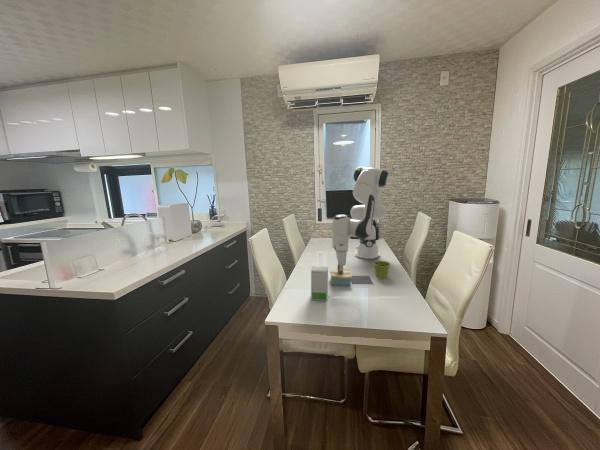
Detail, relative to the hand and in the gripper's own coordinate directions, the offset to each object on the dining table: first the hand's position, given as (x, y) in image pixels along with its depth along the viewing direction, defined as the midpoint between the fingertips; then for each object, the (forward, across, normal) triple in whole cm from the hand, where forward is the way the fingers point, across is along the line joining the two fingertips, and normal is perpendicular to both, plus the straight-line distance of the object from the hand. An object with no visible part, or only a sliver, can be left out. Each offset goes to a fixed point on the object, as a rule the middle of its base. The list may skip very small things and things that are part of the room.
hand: (340, 267), depth 141 cm
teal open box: (+9, 0, 0) cm, 9 cm away
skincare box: (+9, +18, -12) cm, 24 cm away
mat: (+9, -3, +12) cm, 15 cm away
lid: (+4, 0, 0) cm, 4 cm away
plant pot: (+9, -8, +25) cm, 28 cm away
